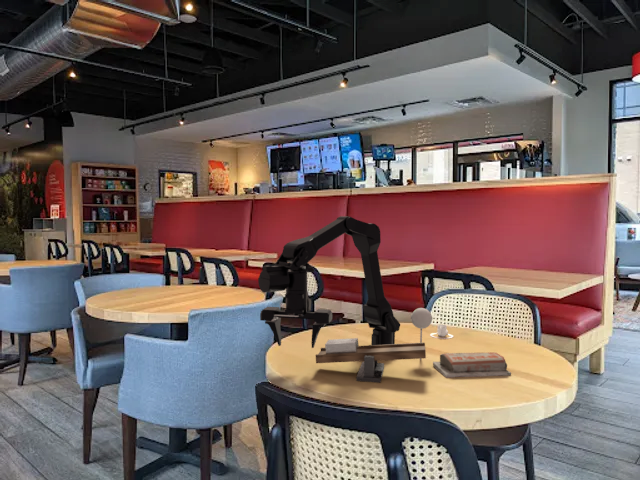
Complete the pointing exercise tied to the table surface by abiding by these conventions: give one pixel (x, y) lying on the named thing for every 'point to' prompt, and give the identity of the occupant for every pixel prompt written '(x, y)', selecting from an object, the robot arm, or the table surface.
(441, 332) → the teacup and saucer
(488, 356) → the packaged product
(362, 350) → the beam
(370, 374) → the stand
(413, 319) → the lollipop
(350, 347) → the block
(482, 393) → the table surface
